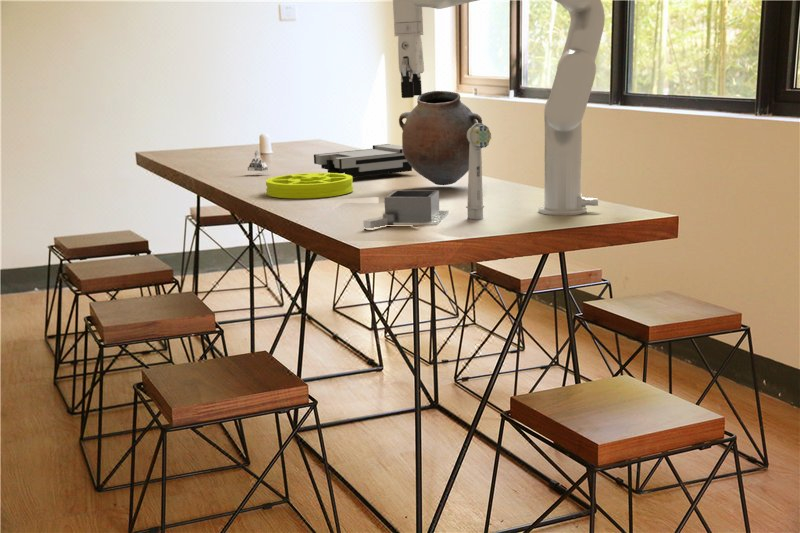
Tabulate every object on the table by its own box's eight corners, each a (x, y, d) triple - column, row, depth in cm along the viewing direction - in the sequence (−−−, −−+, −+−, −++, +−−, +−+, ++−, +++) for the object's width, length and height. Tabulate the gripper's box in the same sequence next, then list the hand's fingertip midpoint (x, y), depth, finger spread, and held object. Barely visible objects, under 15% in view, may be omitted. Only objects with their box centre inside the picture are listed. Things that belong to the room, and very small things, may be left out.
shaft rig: (452, 210, 260) (451, 185, 259) (433, 231, 232) (432, 203, 230) (389, 210, 264) (388, 185, 262) (362, 230, 236) (361, 203, 234)
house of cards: (279, 168, 366) (278, 148, 364) (266, 171, 359) (264, 151, 357) (260, 167, 370) (259, 148, 369) (247, 170, 363) (245, 150, 361)
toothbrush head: (479, 217, 248) (478, 121, 242) (493, 221, 242) (492, 123, 237) (462, 219, 246) (460, 122, 240) (475, 223, 240) (473, 124, 234)
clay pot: (402, 192, 295) (399, 94, 288) (400, 181, 319) (397, 90, 312) (485, 189, 295) (484, 91, 288) (477, 178, 320) (475, 88, 313)
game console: (314, 173, 348) (313, 151, 346) (388, 165, 365) (387, 144, 363) (342, 179, 331) (341, 155, 329) (418, 170, 347) (417, 148, 346)
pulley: (344, 183, 322) (343, 168, 321) (360, 194, 296) (360, 178, 294) (262, 188, 316) (261, 173, 314) (271, 200, 289) (270, 184, 288)
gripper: (415, 29, 238) (419, 98, 241) (429, 29, 254) (432, 94, 258) (386, 30, 239) (390, 99, 243) (402, 31, 256) (405, 95, 260)
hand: (411, 96), depth 250 cm, fingers open, 9 cm apart
